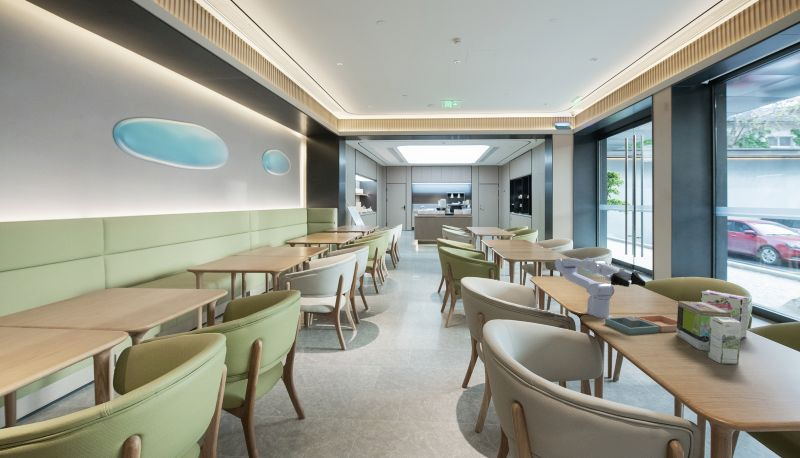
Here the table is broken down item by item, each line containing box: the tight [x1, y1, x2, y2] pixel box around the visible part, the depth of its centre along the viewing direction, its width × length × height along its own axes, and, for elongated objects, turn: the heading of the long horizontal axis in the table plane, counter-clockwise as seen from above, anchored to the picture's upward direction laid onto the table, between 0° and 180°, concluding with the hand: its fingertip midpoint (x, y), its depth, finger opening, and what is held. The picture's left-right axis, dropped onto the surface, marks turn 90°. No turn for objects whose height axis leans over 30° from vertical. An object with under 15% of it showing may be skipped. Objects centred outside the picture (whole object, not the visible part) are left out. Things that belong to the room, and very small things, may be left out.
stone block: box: [622, 316, 640, 328], centre depth 153 cm, size 5×4×4 cm
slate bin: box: [604, 316, 660, 336], centre depth 153 cm, size 14×14×3 cm
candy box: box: [700, 289, 750, 340], centre depth 148 cm, size 14×6×16 cm, turn 25°
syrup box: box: [707, 317, 741, 365], centre depth 121 cm, size 6×6×14 cm
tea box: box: [676, 300, 731, 352], centre depth 136 cm, size 15×10×15 cm, turn 168°
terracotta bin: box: [634, 314, 677, 333], centre depth 156 cm, size 14×14×3 cm
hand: (636, 284), depth 151 cm, fingers open, 7 cm apart
